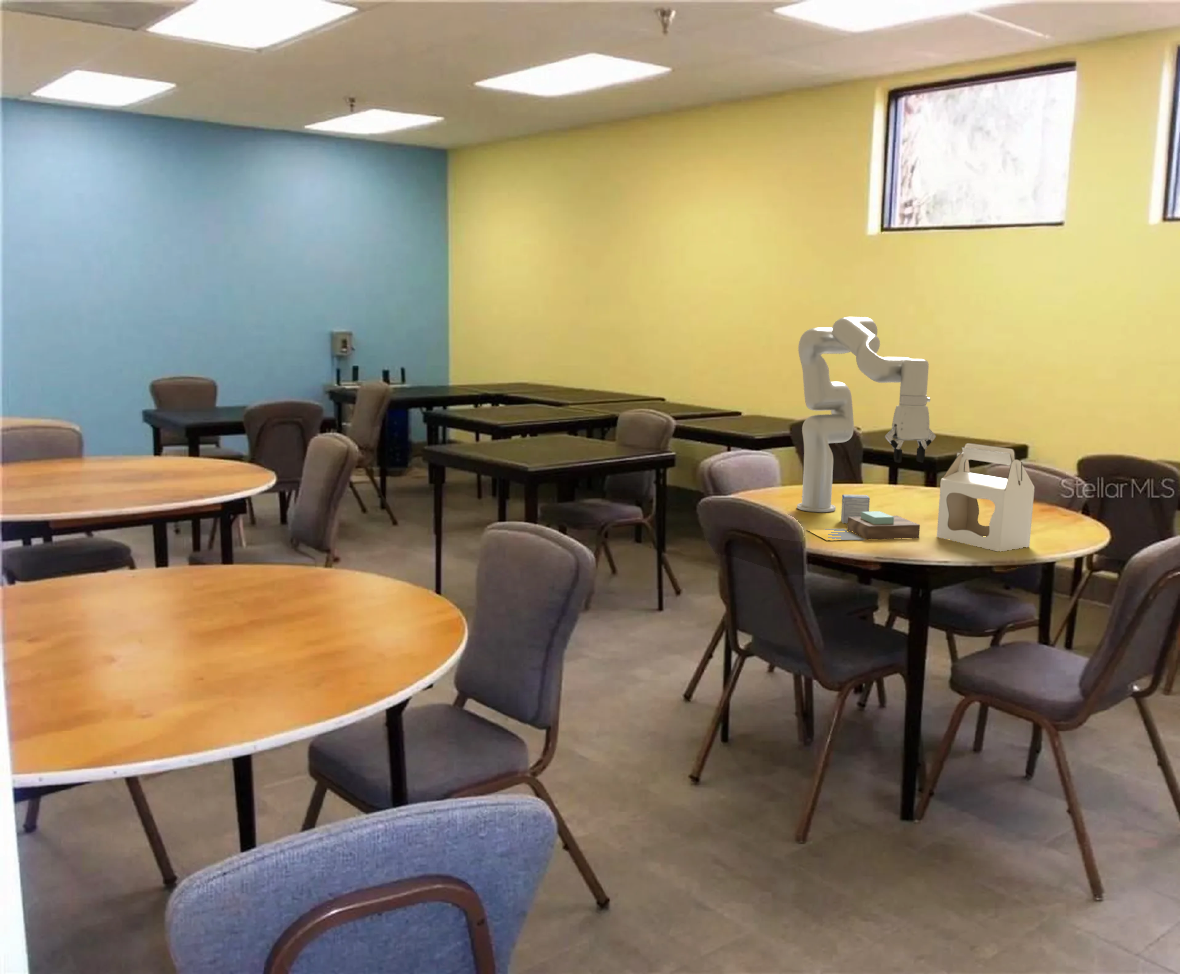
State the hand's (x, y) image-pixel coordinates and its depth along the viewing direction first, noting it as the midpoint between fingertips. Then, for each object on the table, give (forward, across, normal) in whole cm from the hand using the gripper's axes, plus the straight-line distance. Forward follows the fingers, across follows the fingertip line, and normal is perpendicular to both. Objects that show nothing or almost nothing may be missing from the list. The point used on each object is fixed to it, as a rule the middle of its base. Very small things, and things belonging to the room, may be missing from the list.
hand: (908, 461), depth 302 cm
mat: (+22, +22, 0) cm, 31 cm away
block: (+18, +9, 0) cm, 20 cm away
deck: (+22, +7, 0) cm, 23 cm away
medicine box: (+22, +8, -17) cm, 29 cm away
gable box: (+22, -17, +14) cm, 31 cm away
